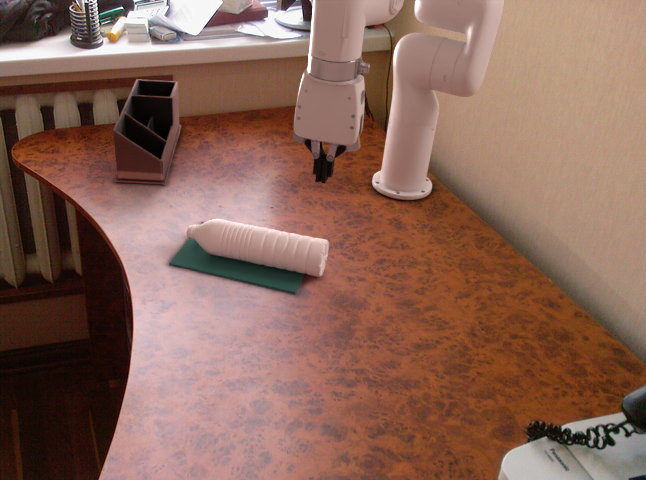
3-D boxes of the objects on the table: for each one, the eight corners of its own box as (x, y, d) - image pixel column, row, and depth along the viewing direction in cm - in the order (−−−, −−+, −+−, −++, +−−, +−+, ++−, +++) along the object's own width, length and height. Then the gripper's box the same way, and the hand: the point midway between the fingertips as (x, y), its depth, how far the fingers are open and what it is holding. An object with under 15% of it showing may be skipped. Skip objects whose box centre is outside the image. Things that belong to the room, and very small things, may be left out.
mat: (202, 223, 141) (202, 221, 140) (318, 249, 135) (318, 247, 135) (169, 264, 129) (169, 262, 129) (295, 294, 124) (295, 292, 124)
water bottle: (325, 240, 123) (184, 213, 128) (318, 279, 124) (178, 250, 129) (333, 238, 131) (200, 212, 136) (326, 274, 132) (194, 247, 137)
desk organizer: (181, 126, 175) (180, 80, 169) (165, 185, 152) (163, 134, 145) (137, 124, 175) (134, 77, 168) (114, 182, 152) (109, 131, 145)
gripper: (389, 66, 109) (372, 178, 120) (292, 51, 112) (284, 161, 123) (379, 83, 103) (362, 198, 114) (277, 66, 106) (270, 180, 117)
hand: (322, 179), depth 119 cm, fingers closed
